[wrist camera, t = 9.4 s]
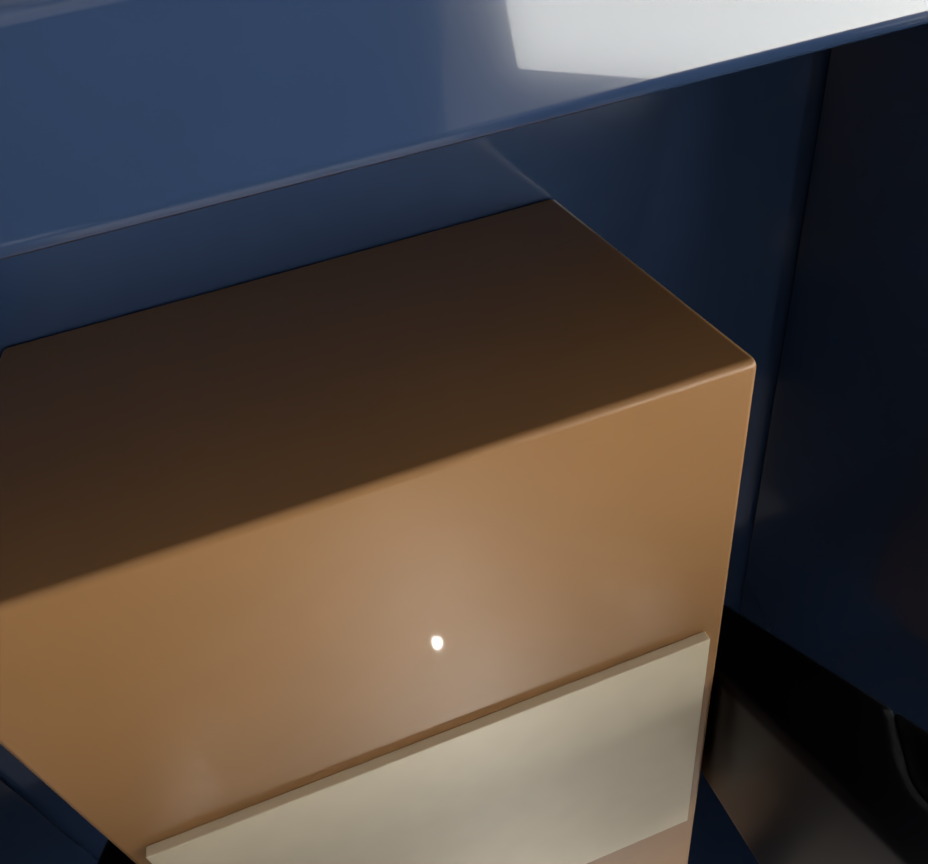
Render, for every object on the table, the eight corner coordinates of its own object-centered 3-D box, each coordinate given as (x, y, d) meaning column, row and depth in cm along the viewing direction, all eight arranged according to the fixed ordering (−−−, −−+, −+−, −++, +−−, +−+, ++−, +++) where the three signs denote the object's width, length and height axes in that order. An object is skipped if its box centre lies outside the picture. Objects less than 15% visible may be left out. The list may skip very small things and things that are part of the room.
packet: (554, 196, 7) (771, 367, 5) (587, 698, 14) (689, 897, 11) (1, 346, 7) (-125, 659, 4) (306, 808, 13) (339, 1053, 10)
